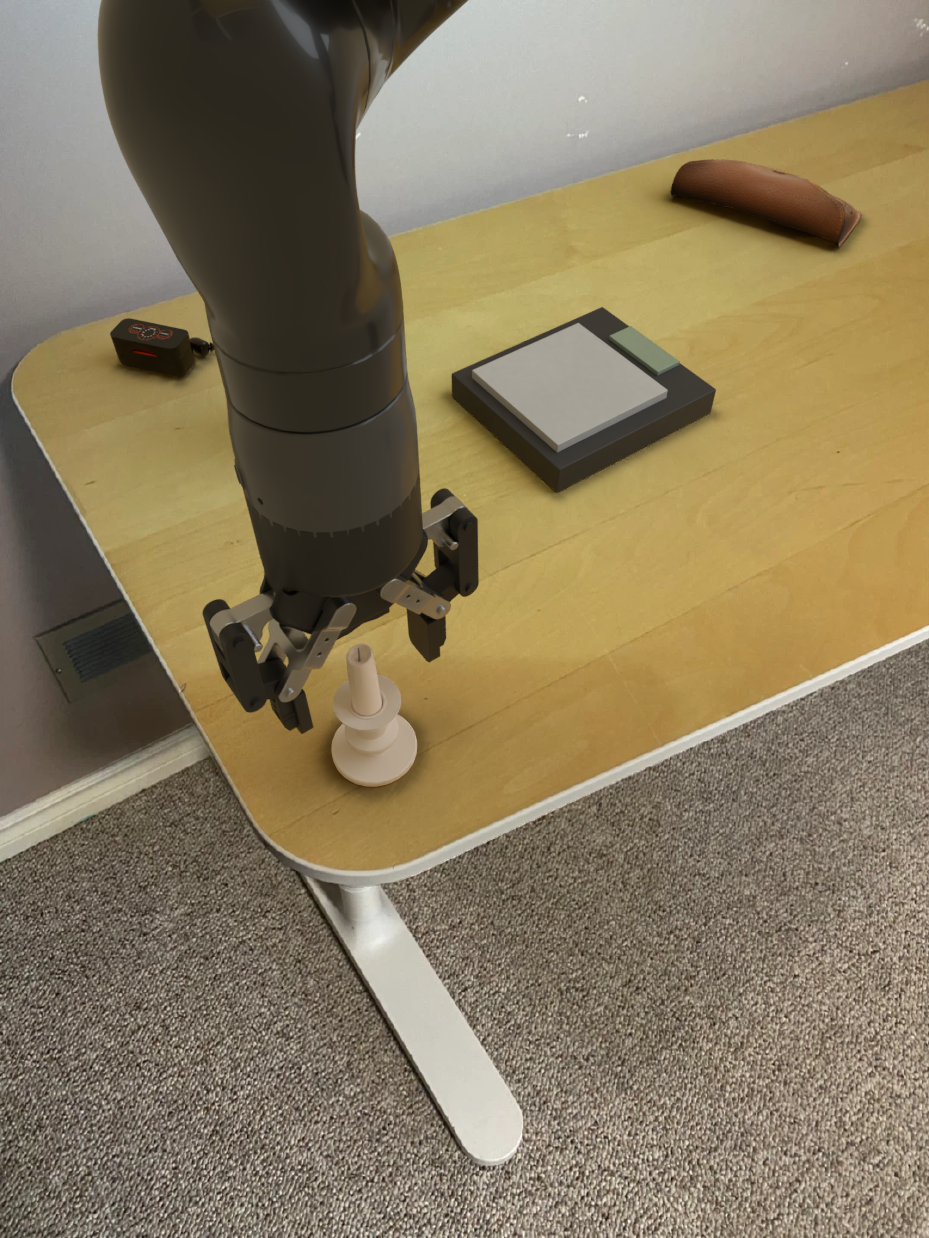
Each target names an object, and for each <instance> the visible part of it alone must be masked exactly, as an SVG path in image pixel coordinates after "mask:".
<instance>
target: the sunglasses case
mask: <svg viewBox="0 0 929 1238" xmlns="http://www.w3.org/2000/svg"><path fill="white" fill-rule="evenodd" d="M670 195H671V197H674V196H677V197H679V198H685V199H688V200H692V201H696V202H697V201H698V202H701V203H705V204H713V205H715V206H718V207H723V208H724V207H725V208H731V209H733V210H735V211H737V212H741V213H744V214H747V215H750V216H753V217H756V218H759V219H764V220H767V221H772V222H774V223H776V224H778V225H781V226H784V227H786V228H787V227H788V228H791V229H794V230H797V231H801V232H804V233H806V234H810V235H813V236H816V237H819V238H822V239H824V240H827V241H829V242H833V243H835V245H836V246H837V247H838V248H841V247H842V246H843V244H845V242H846V241H847V239H849V237H850V235H851V234H852V233H853V231H854V230H855V228H856V227H857V226H858V224H859V223H860V221H861V220H862V217H863V215H862V213H861V211H859V210H858V209H856V208H855V207H854V206H853V205H852V204H850V203H849V202H848V201H846V200H844V199H842V198H840V197H838V196H836V195H833V194H832V193H830V192H828V190H826V189H825V188H823V187H821V186H820V185H819V184H817V183H815V182H814V181H811V180H810V179H808V178H805V177H801V176H799V175H796V174H793V173H789V172H785V171H784V170H782V169H779V168H774V167H773V168H772V167H769V166H766V165H761V164H756V163H753V162H747V161H743V160H738V159H737V160H736V159H721V158H720V159H718V158H717V159H713V158H711V159H700V160H699V159H698V160H690V161H687V162H685V163H684V164H682V165H681V166H680V167H679V168H678V169H677V172H676V173H675V175H674V177H673V180H672V183H671V187H670Z"/></svg>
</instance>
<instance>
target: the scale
mask: <svg viewBox="0 0 929 1238" xmlns="http://www.w3.org/2000/svg"><path fill="white" fill-rule="evenodd" d="M716 392H717V388H715V387H713V386H712V385H711V384H710V383H708V382H707V381H706V380H704V379H703V378H701V377H700V376H698V375H697V374H696V373H694V372H693V371H692V370H690V369H689V368H687V366H685V365H683V364H682V363H681V360H679V359H678V358H676V357H675V356H673V355H672V354H671V353H669V352H668V351H667V350H665V349H664V348H663V347H661V346H660V345H658V344H657V343H656V342H654V341H653V340H651V339H650V338H649V337H648V336H646V335H644V334H643V333H642V332H640V331H639V330H638V329H636V328H635V327H633V326H631V325H628V324H627V323H626V322H624V321H623V320H621V319H620V318H619V317H617V316H616V315H615V314H613V313H611V312H610V311H609V310H607V308H605V307H603V306H601V307H598V308H596V309H594V310H592V311H589V312H587V313H585V314H583V315H581V316H578V317H575V318H574V319H571V320H569V321H567V322H565V323H563V324H560V325H558V326H555V327H554V328H551V329H549V330H547V331H544V332H542V333H540V334H537V335H536V336H533V337H531V338H529V339H526V340H524V341H522V342H520V343H518V344H515V345H513V346H510V347H508V348H506V349H503V350H501V351H500V352H497V353H494V354H493V355H490V356H488V357H486V358H484V359H481V360H479V361H477V362H475V363H472V364H470V365H468V366H465V367H463V368H460V369H459V370H456V371H454V372H452V373H451V397H452V399H453V400H455V401H456V402H457V403H458V404H459V405H460V406H461V407H463V408H464V409H465V411H467V412H468V413H469V414H470V415H471V416H472V417H473V418H474V419H476V420H477V421H478V422H479V423H480V424H481V425H482V426H483V427H484V428H485V429H487V430H488V431H489V432H490V434H492V435H493V436H494V437H495V438H497V440H499V442H500V443H502V444H503V445H504V446H505V447H507V449H508V450H510V451H511V452H512V453H513V454H514V455H515V456H516V457H517V458H518V459H519V460H520V461H521V462H523V463H524V464H525V465H526V466H527V468H529V469H530V470H532V471H533V473H535V474H536V475H537V476H538V477H539V478H540V479H541V480H542V481H544V483H546V484H547V485H548V486H549V487H550V488H551V489H552V490H553V491H554V492H555V493H559V492H561V491H563V490H566V489H567V488H570V487H571V486H573V485H575V484H577V483H578V482H581V481H582V480H584V479H586V478H589V477H590V476H592V475H594V474H596V473H598V472H600V471H602V470H604V469H606V468H607V467H609V466H611V465H613V464H616V463H617V462H619V461H621V460H623V459H624V458H626V457H628V456H631V455H632V454H634V453H636V452H638V451H640V450H643V449H644V448H645V447H648V446H649V445H651V444H653V443H655V442H657V441H659V440H661V439H663V438H665V437H667V436H669V435H670V434H673V433H674V432H677V431H678V430H681V429H683V428H684V427H686V426H688V425H689V424H692V423H693V422H696V421H697V420H700V419H701V418H703V417H705V416H707V415H709V414H711V412H712V409H713V404H714V400H715V397H716Z"/></svg>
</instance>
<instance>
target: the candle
mask: <svg viewBox="0 0 929 1238" xmlns="http://www.w3.org/2000/svg"><path fill="white" fill-rule="evenodd" d="M345 660H346V671H347V679H346V680H344V681H343V682H342V683H341V684H340V686H339V687H337V689H336V691H335V693H334V695H333V701H332V708H333V713H334V715H335V716H336V718H337V720H338V721H340V722H341V724H340V726H339V727H338V728H337V729H336V730H335V732H334V735H333V738H332V740H331V747H330V750H331V757H332V762H333V764H334V766H335V768H336V770H337V771H338V772H339V774H340V775H341V776H342V777H343V778H344V779H346V780H347V781H349V782H351V783H352V784H355V785H359V786H363V787H372V788H373V787H375V788H376V787H377V788H378V787H382V786H385V785H390V784H392V783H394V782H396V781H398V780H400V779H401V778H402V777H403V776H404V775H405V774H407V773H408V772H409V770H410V769H411V767H412V766H413V765H414V763H415V761H416V758H417V754H418V740H417V736H416V731H415V730H414V728H413V727H412V725H411V723H410V722H408V721H407V720H406V719H405V718H404V717H403V716H401V715H400V714H398V713H399V712H400V709H401V706H402V694H401V691H400V688H399V687H398V685H397V684H396V683H395V682H394V681H393V680H392V679H391V678H389V677H387V676H385V675H383V674H379V673H378V671H377V665H376V662H375V657H374V650H373V648H372V647H371V645H369V644H366V643H358V644H355V645H353V646H351V647H350V648H349V649H348V651H347V653H346V659H345Z"/></svg>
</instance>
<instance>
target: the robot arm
mask: <svg viewBox="0 0 929 1238" xmlns="http://www.w3.org/2000/svg"><path fill="white" fill-rule="evenodd" d="M468 1H469V0H101V1H100V4H99V9H98V10H99V11H98V17H97V18H98V19H97V57H98V67H99V68H98V69H99V74H100V76H99V77H100V85H101V89H102V94H103V99H104V100H103V101H104V105H105V108H106V114H107V116H108V119H109V122H110V125H111V128H112V132H113V134H114V138H115V140H116V142H117V145H118V147H119V151H120V153H121V155H122V157H123V160H124V162H125V163H126V165H127V168H128V170H129V172H130V174H131V176H132V178H133V180H134V182H135V183H136V185H137V187H138V189H139V191H140V193H141V195H142V197H143V198H144V200H145V202H146V203H147V205H148V207H149V209H150V211H151V213H152V214H153V216H154V219H155V220H156V222H157V223H158V225H159V227H160V229H161V231H162V233H163V235H164V237H165V238H166V240H167V242H168V244H169V246H170V248H171V250H172V252H173V253H174V255H175V258H176V259H177V261H178V262H179V265H180V266H181V267H182V269H183V270H184V272H185V274H186V276H187V277H188V279H189V280H190V281H191V283H192V285H193V287H194V288H195V289H196V291H197V293H198V294H199V296H200V298H201V299H202V301H203V303H204V308H205V315H206V320H207V325H208V329H209V333H210V338H211V343H213V346H214V353H215V359H216V362H217V365H218V369H219V374H220V377H221V381H222V385H223V386H222V387H223V389H224V394H225V399H226V409H227V425H228V433H229V438H230V443H231V448H232V452H233V456H234V459H233V461H234V464H233V467H234V471H235V472H234V473H235V475H236V478H237V482H238V483H239V485H240V486H241V489H242V492H243V495H244V500H245V503H246V507H247V510H248V514H249V519H250V522H251V523H250V524H251V526H252V530H253V534H254V538H255V542H256V546H257V550H258V554H259V558H260V561H261V564H262V568H263V578H262V582H261V584H260V587H259V594H258V595H256V596H254V597H252V598H249V599H247V600H245V601H243V602H241V603H239V604H237V605H235V606H233V607H230V606H229V604H228V603H227V601H226V600H225V599H222V598H217V599H213V600H211V601H209V602H208V603H207V604H206V605H204V607H203V609H202V613H201V614H202V618H203V620H204V624H205V627H206V631H207V633H208V637H209V639H210V643H211V645H212V649H213V652H214V655H215V658H216V662H217V664H218V667H219V670H220V674H221V677H222V678H223V681H224V682H225V683H226V685H227V686H228V687H229V689H230V690H231V692H232V693H233V695H234V697H235V698H236V700H237V701H238V703H239V704H240V705H241V707H242V709H243V710H244V711H245V712H246V713H250V714H251V713H256V712H258V711H260V710H261V709H262V708H263V707H264V706H265V705H266V703H267V701H268V700H269V703H270V707H271V710H272V711H273V713H274V714H275V715H276V717H277V719H278V720H279V721H280V723H281V725H282V726H283V727H284V729H286V730H287V731H288V732H291V731H293V730H295V729H297V731H298V732H299V733H300V734H301V735H303V734H305V733H307V732H309V731H311V730H312V729H314V722H313V718H312V715H311V711H310V706H309V702H308V698H307V694H306V691H305V690H304V689H303V688H304V687H305V684H306V682H307V681H308V679H309V677H310V675H311V673H312V671H313V670H319V669H322V668H323V666H324V665H325V663H326V661H327V659H328V657H329V656H330V653H331V652H332V649H333V647H334V646H335V644H336V642H337V641H338V640H340V639H343V638H344V637H346V636H347V635H349V634H351V633H352V632H353V631H356V629H358V628H359V627H360V626H362V625H363V624H366V623H369V622H371V621H374V620H377V619H379V618H381V617H383V616H385V615H387V614H389V613H390V612H391V610H390V608H391V607H392V606H393V605H394V604H397V605H398V606H400V607H402V608H405V609H406V619H407V621H406V622H407V632H408V638H409V641H410V643H411V644H412V646H413V647H414V648H415V649H416V650H417V652H418V653H419V654H420V655H421V656H422V658H423V659H424V660H425V662H428V663H431V662H433V661H435V660H436V659H438V658H440V657H441V647H443V646H444V645H445V643H446V640H447V617H446V616H447V615H448V614H449V612H450V611H451V609H452V604H451V602H452V601H453V600H454V599H455V598H456V597H458V596H459V595H460V597H463V598H466V597H469V596H471V595H472V594H474V593H475V592H476V590H477V589H478V587H479V582H480V581H479V576H480V575H479V527H478V526H479V520H478V517H476V515H475V514H473V512H471V510H470V509H469V508H468V507H467V506H466V505H465V504H464V503H463V502H462V501H461V500H460V499H459V498H458V497H457V496H456V495H455V494H454V493H453V492H451V490H450V489H449V488H446V487H443V488H440V489H438V490H437V491H435V492H434V494H433V495H432V496H431V498H430V501H429V502H430V503H429V505H430V508H429V509H428V510H426V511H424V512H423V507H422V492H421V489H422V487H421V473H420V472H421V471H420V453H419V439H418V437H419V434H418V423H417V413H416V407H415V402H414V401H415V400H414V397H413V393H412V389H411V385H410V380H409V373H408V361H407V360H408V359H407V347H406V345H407V344H406V330H405V329H406V328H405V314H404V300H403V289H402V281H401V274H400V269H399V265H398V260H397V256H396V254H395V250H394V248H393V245H392V242H391V240H390V237H389V236H388V234H386V232H385V231H384V228H383V227H382V226H381V225H380V224H379V222H378V221H376V220H375V219H374V218H373V217H372V216H371V215H369V214H368V213H367V212H365V211H363V210H362V209H361V208H360V202H359V196H358V189H357V174H356V141H357V130H358V128H359V127H360V125H361V123H362V121H363V119H364V118H365V117H366V114H367V113H368V111H369V109H370V107H371V106H372V104H373V102H374V100H375V99H376V97H377V96H378V95H379V93H380V91H381V89H382V88H383V86H384V85H385V84H386V82H388V80H389V79H390V78H391V77H392V76H393V75H394V74H395V72H396V71H397V70H398V69H399V68H400V67H401V66H402V65H403V64H404V62H405V61H406V60H407V59H408V58H409V57H411V55H412V54H413V53H414V52H415V51H416V50H417V49H418V48H419V47H420V46H421V45H422V44H423V43H424V42H425V41H426V40H427V39H428V38H429V37H430V36H431V35H432V34H433V33H434V32H435V31H436V30H438V28H440V27H441V26H442V25H443V24H444V23H445V22H447V20H449V19H450V18H451V17H452V16H453V15H455V13H457V11H459V9H461V8H462V7H463V6H464V5H465V4H466V3H468ZM430 540H432V545H433V548H432V549H433V561H434V568H435V569H434V570H433V571H431V572H430V573H429V574H428V575H426V574H424V573H422V571H419V570H418V569H417V567H418V565H419V564H420V562H421V560H422V559H423V557H424V555H425V553H426V551H427V548H428V545H429V541H430ZM266 625H268V627H267V629H268V634H269V637H268V639H267V642H266V644H265V646H264V645H263V644H262V642H261V640H262V638H263V636H264V635H263V633H264V629H265V627H266ZM306 634H308V635H310V636H309V638H308V636H307V635H306ZM261 651H262V652H261ZM259 652H261V654H260V656H259V658H258V659H257V654H256V653H259ZM286 659H287V660H288V661H287V662H288V663H287V665H286V664H285V663H284V662H285V661H286Z"/></svg>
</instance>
